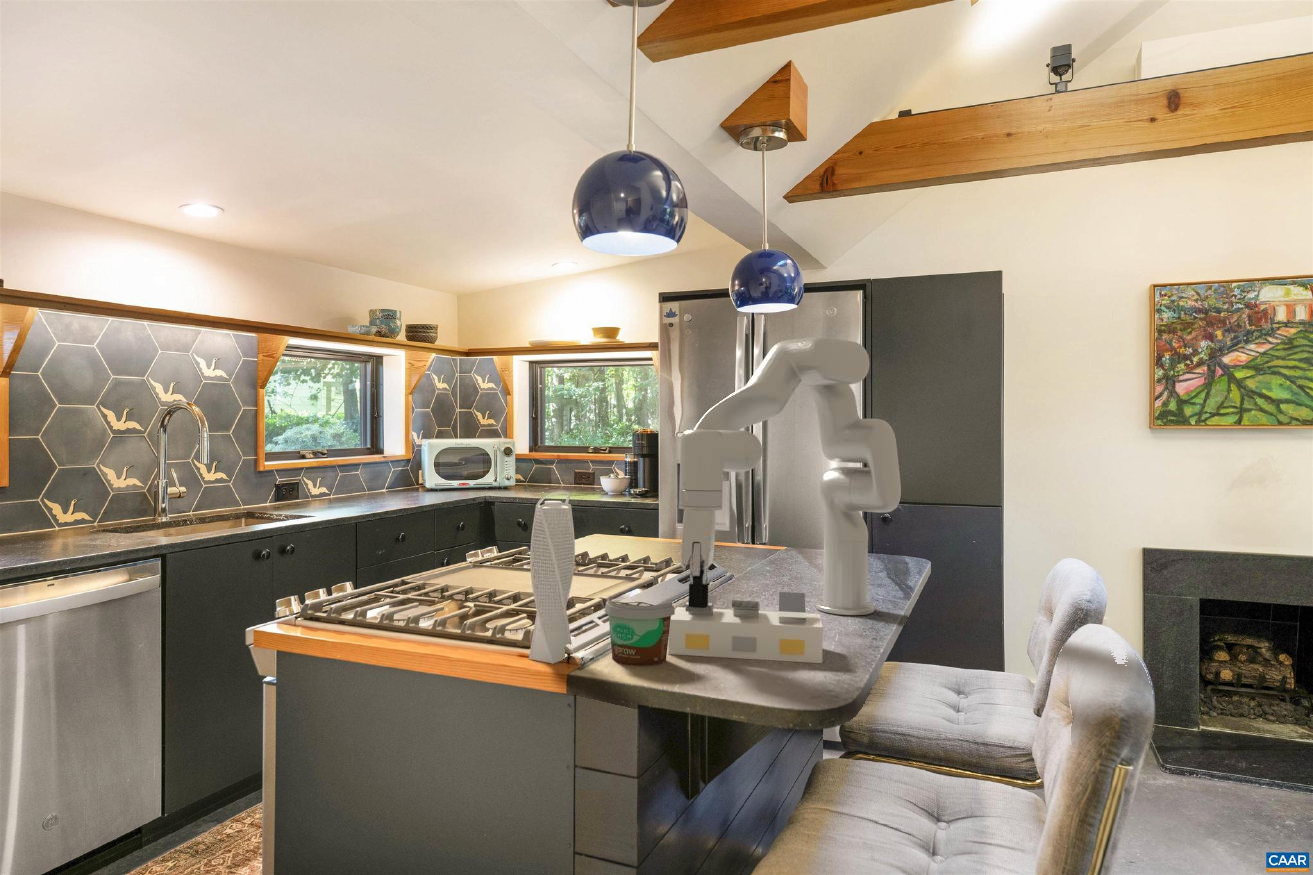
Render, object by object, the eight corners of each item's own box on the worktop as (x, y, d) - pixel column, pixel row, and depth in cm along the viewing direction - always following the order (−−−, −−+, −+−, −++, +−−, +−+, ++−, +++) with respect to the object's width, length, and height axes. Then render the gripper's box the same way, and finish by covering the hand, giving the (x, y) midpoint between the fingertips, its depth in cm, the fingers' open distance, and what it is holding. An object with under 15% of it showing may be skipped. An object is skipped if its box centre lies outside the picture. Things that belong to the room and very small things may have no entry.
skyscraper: (549, 648, 133) (551, 489, 133) (583, 655, 129) (586, 491, 129) (519, 659, 126) (522, 492, 126) (555, 666, 122) (557, 494, 123)
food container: (591, 663, 125) (592, 602, 125) (606, 653, 130) (607, 595, 130) (661, 671, 120) (662, 609, 120) (674, 661, 126) (675, 601, 126)
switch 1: (691, 600, 139) (691, 594, 139) (715, 602, 138) (715, 595, 138) (685, 611, 131) (685, 604, 131) (711, 612, 130) (711, 605, 130)
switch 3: (779, 597, 136) (779, 591, 136) (804, 598, 135) (804, 592, 135) (778, 622, 129) (778, 616, 128) (805, 624, 128) (805, 617, 128)
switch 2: (734, 608, 137) (734, 602, 138) (759, 610, 136) (759, 603, 137) (731, 607, 130) (731, 600, 130) (758, 608, 129) (758, 601, 129)
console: (676, 639, 140) (677, 600, 140) (819, 647, 136) (819, 607, 136) (668, 654, 130) (668, 612, 130) (822, 663, 126) (822, 620, 126)
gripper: (684, 497, 139) (682, 597, 139) (673, 502, 124) (670, 614, 124) (725, 498, 138) (723, 599, 137) (718, 504, 123) (716, 617, 123)
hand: (698, 606), depth 131 cm, fingers closed
